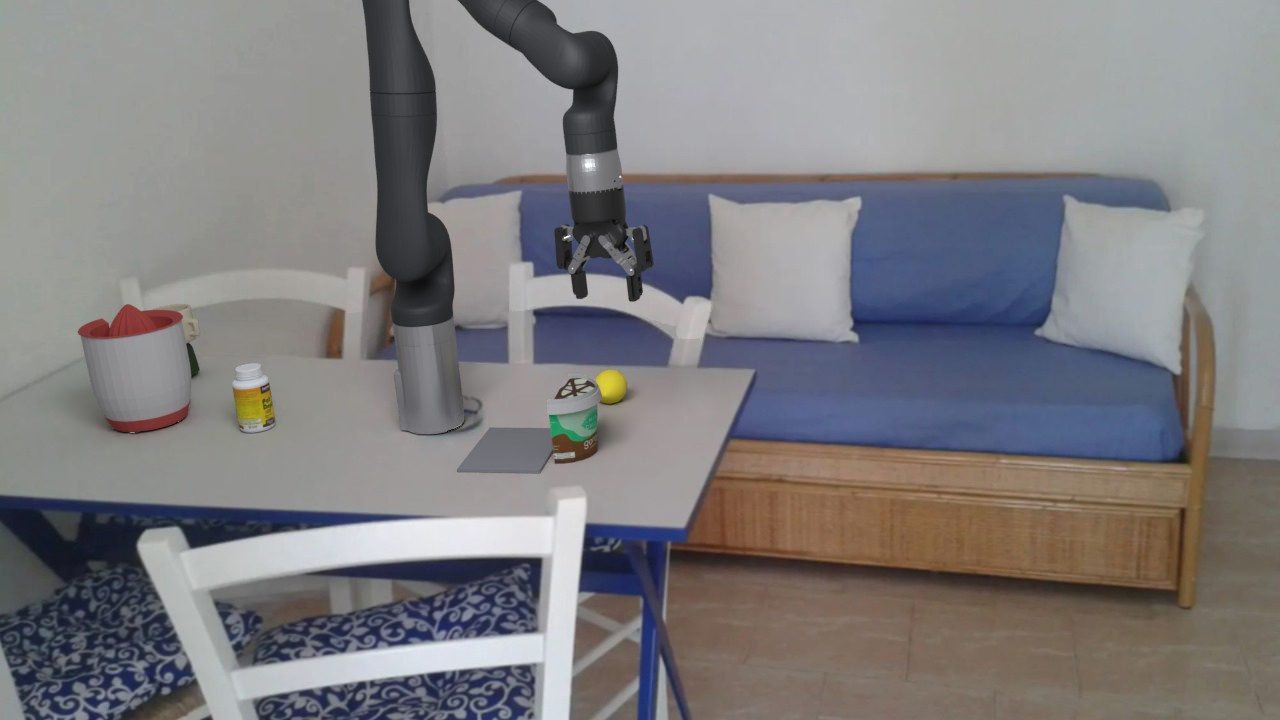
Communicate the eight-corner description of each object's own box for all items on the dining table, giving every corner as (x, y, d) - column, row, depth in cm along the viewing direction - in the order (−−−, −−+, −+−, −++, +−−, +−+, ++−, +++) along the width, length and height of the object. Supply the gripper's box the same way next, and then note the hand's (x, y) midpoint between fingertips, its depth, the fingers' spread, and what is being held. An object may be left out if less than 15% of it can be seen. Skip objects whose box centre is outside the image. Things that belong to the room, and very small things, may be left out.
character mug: (145, 381, 208) (131, 313, 204) (170, 369, 215) (157, 302, 211) (195, 384, 205) (182, 314, 201) (219, 371, 212) (207, 304, 208)
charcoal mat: (457, 471, 160) (456, 469, 160) (490, 429, 175) (489, 427, 175) (539, 473, 158) (539, 470, 158) (566, 430, 173) (565, 428, 173)
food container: (594, 469, 158) (589, 401, 155) (551, 468, 159) (546, 400, 156) (613, 436, 169) (609, 372, 166) (574, 435, 171) (569, 372, 168)
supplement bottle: (270, 433, 179) (260, 371, 176) (235, 435, 179) (224, 373, 176) (280, 420, 184) (270, 360, 181) (245, 422, 184) (235, 362, 181)
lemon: (622, 412, 181) (619, 381, 178) (589, 410, 182) (586, 380, 180) (633, 391, 187) (630, 362, 184) (602, 390, 188) (598, 361, 186)
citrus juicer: (182, 395, 199) (161, 285, 193) (213, 421, 186) (191, 303, 179) (87, 418, 190) (62, 303, 184) (111, 447, 177) (85, 323, 171)
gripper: (536, 190, 155) (551, 304, 160) (627, 189, 148) (640, 308, 153) (565, 179, 161) (579, 290, 166) (654, 178, 154) (665, 293, 159)
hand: (608, 299), depth 160 cm, fingers open, 8 cm apart
